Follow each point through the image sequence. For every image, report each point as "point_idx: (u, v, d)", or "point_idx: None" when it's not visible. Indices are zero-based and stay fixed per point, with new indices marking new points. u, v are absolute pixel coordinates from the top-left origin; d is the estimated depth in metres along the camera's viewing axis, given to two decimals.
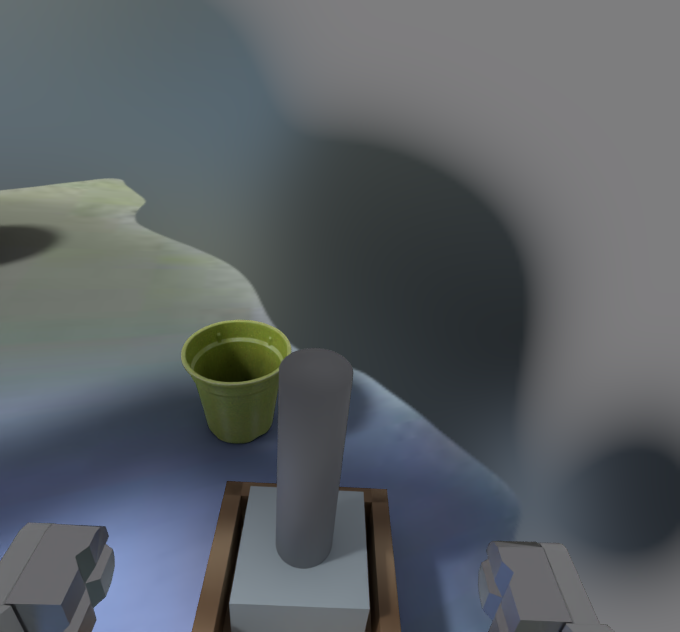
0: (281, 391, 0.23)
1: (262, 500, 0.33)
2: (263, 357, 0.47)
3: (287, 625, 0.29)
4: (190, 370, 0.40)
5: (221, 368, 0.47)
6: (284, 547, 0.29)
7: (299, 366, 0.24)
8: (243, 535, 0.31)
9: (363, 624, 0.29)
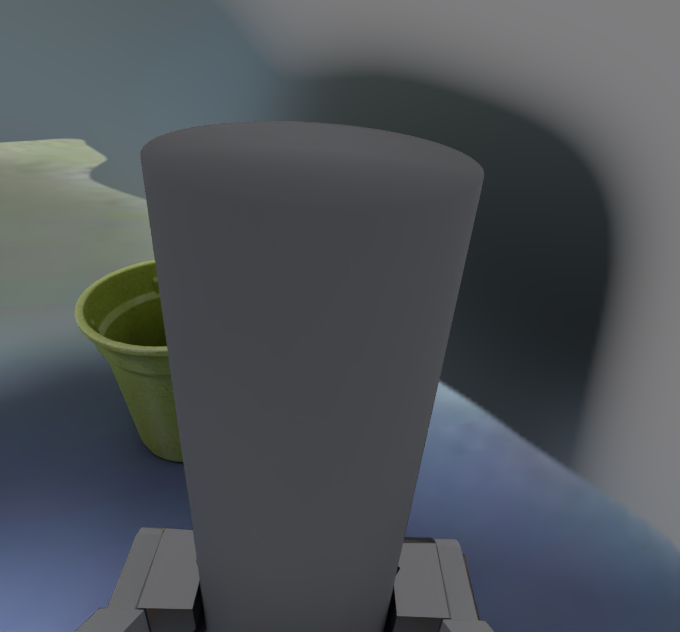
0: (153, 236, 0.05)
1: None
2: None
3: None
4: (85, 327, 0.21)
5: (164, 338, 0.29)
6: None
7: (243, 143, 0.05)
8: None
9: None
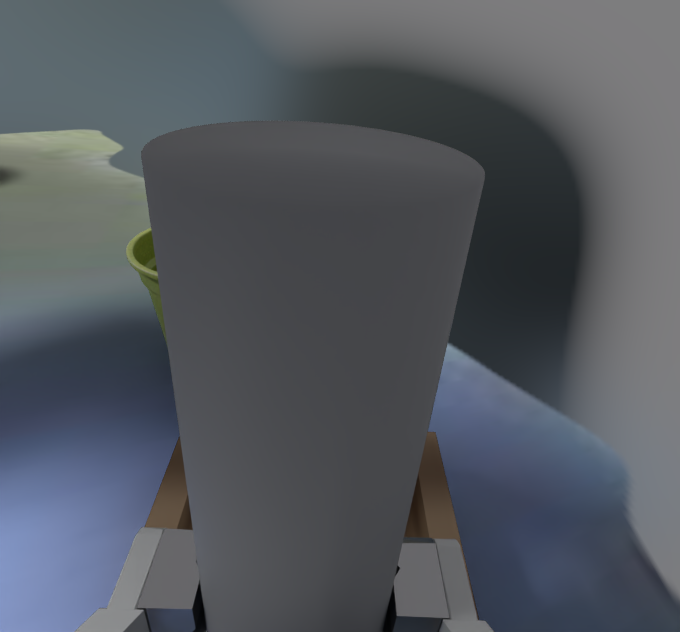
0: (154, 236, 0.05)
1: None
2: None
3: None
4: (136, 263, 0.27)
5: None
6: None
7: (244, 143, 0.05)
8: None
9: None
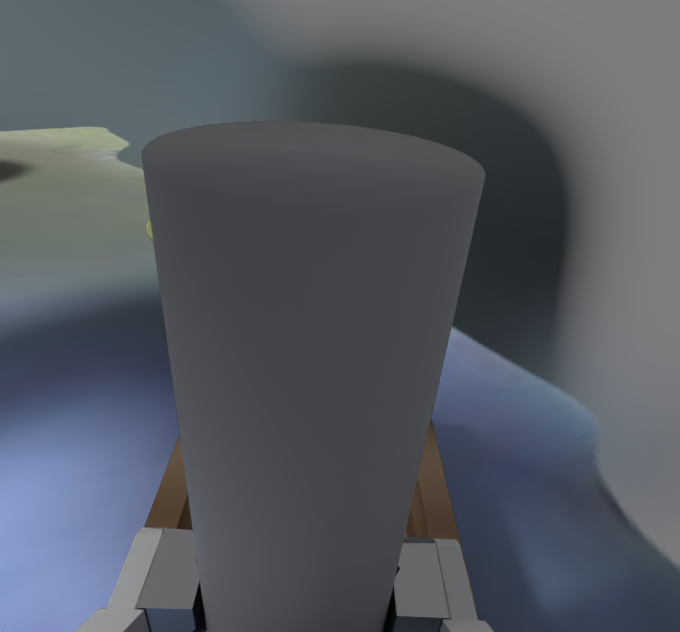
0: (154, 236, 0.05)
1: None
2: None
3: None
4: None
5: None
6: None
7: (244, 143, 0.05)
8: None
9: None
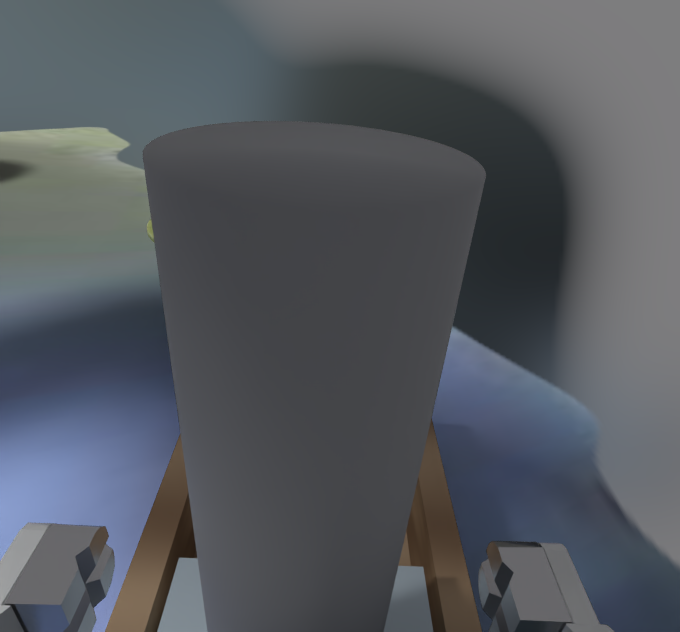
0: (155, 236, 0.05)
1: (201, 593, 0.15)
2: None
3: None
4: None
5: None
6: None
7: (245, 143, 0.05)
8: None
9: None
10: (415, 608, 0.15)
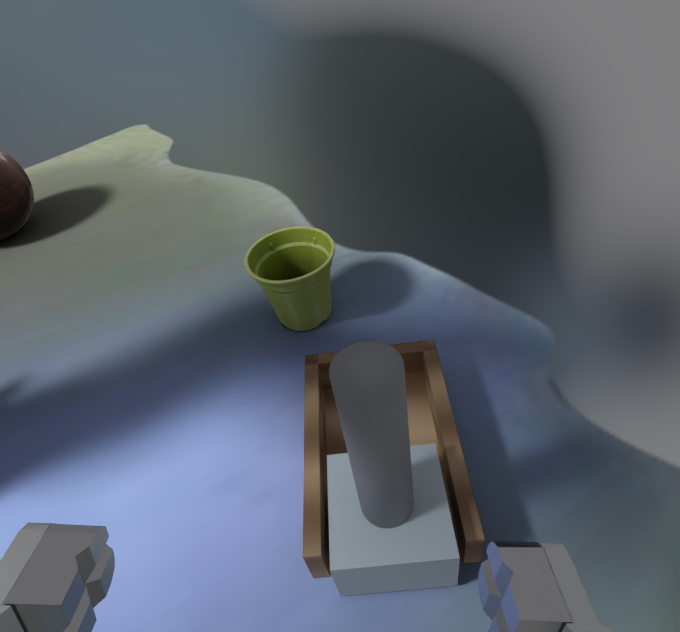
0: (336, 395, 0.23)
1: (340, 467, 0.35)
2: (312, 256, 0.54)
3: (386, 578, 0.32)
4: (255, 276, 0.48)
5: (279, 273, 0.55)
6: (369, 514, 0.31)
7: (348, 367, 0.23)
8: (329, 504, 0.33)
9: (456, 568, 0.31)
10: (432, 460, 0.35)
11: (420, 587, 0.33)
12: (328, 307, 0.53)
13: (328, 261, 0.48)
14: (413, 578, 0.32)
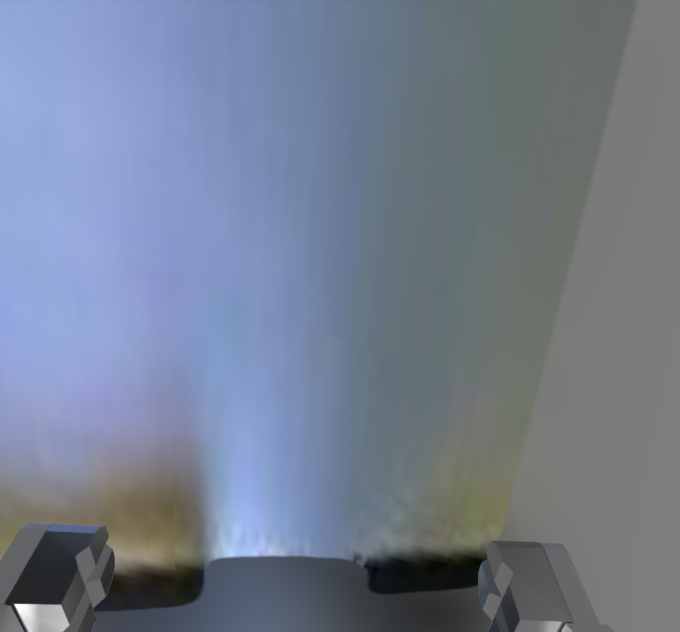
0: None
1: None
2: None
3: None
4: None
5: None
6: None
7: None
8: None
9: None
10: None
11: None
12: None
13: None
14: None
